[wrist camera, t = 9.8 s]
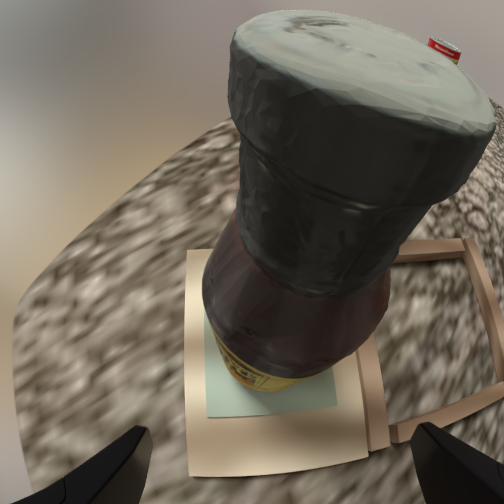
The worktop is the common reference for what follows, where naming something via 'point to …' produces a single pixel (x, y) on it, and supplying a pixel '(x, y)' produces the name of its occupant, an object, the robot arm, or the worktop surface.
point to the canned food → (445, 49)
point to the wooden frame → (311, 391)
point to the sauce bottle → (329, 184)
